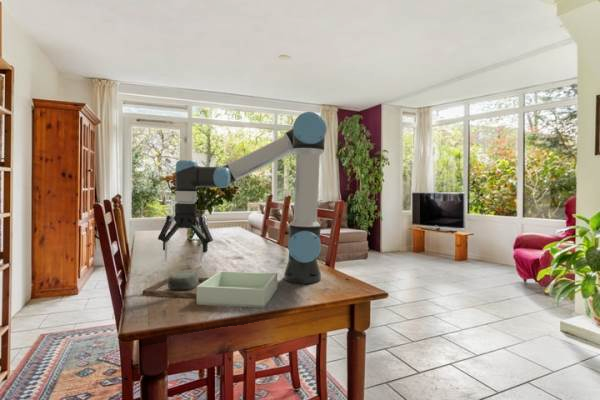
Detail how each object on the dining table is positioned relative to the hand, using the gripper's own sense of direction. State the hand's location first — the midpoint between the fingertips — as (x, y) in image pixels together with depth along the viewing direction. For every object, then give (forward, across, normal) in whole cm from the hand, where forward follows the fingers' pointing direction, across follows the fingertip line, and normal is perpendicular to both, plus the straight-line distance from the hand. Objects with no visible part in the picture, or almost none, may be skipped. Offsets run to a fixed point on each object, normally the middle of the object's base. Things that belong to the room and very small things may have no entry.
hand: (185, 260), depth 127 cm
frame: (+10, 0, 0) cm, 10 cm away
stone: (+11, 0, +1) cm, 11 cm away
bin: (+10, -23, +6) cm, 26 cm away
